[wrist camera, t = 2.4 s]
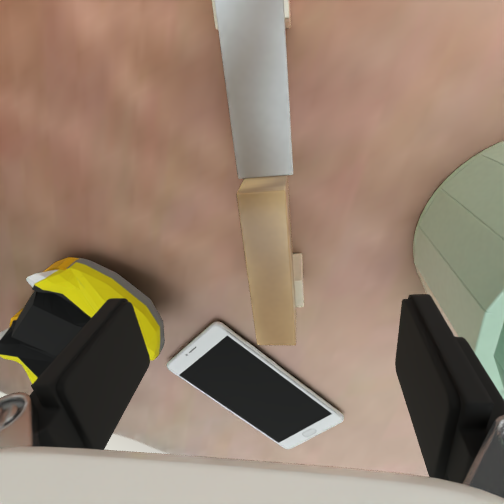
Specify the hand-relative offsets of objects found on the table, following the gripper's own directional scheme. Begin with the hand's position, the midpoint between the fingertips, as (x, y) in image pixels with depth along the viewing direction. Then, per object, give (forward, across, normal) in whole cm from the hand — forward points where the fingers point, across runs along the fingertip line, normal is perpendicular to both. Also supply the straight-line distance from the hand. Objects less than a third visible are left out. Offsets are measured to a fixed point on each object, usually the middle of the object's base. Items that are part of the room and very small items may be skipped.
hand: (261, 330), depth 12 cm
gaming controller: (+12, +16, +8) cm, 22 cm away
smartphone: (+12, +3, +16) cm, 20 cm away
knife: (+8, 0, -3) cm, 9 cm away
